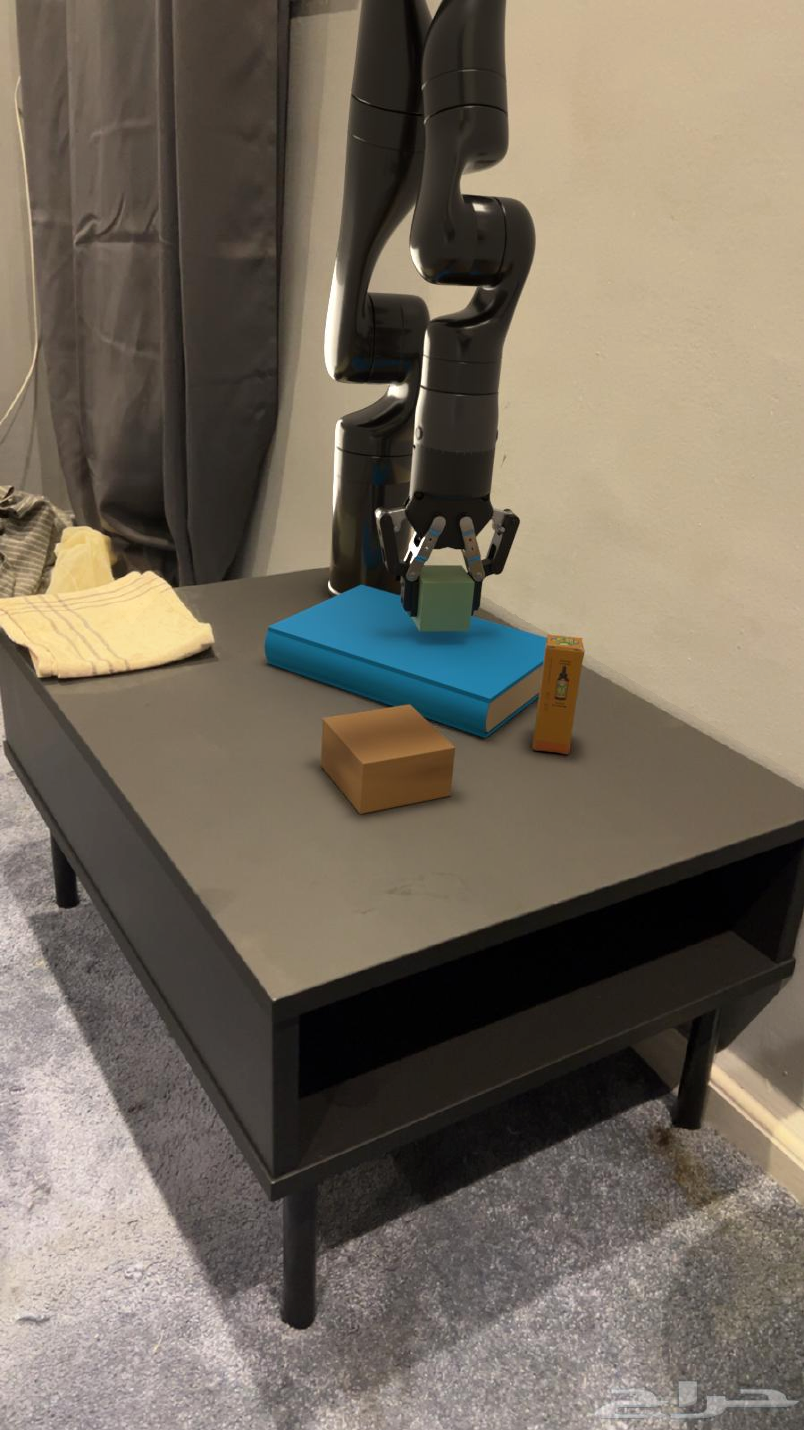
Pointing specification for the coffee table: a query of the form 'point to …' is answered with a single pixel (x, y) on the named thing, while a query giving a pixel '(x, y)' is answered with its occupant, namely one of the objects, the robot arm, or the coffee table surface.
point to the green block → (444, 598)
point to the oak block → (386, 758)
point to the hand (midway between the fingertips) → (439, 613)
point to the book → (412, 659)
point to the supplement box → (558, 693)
